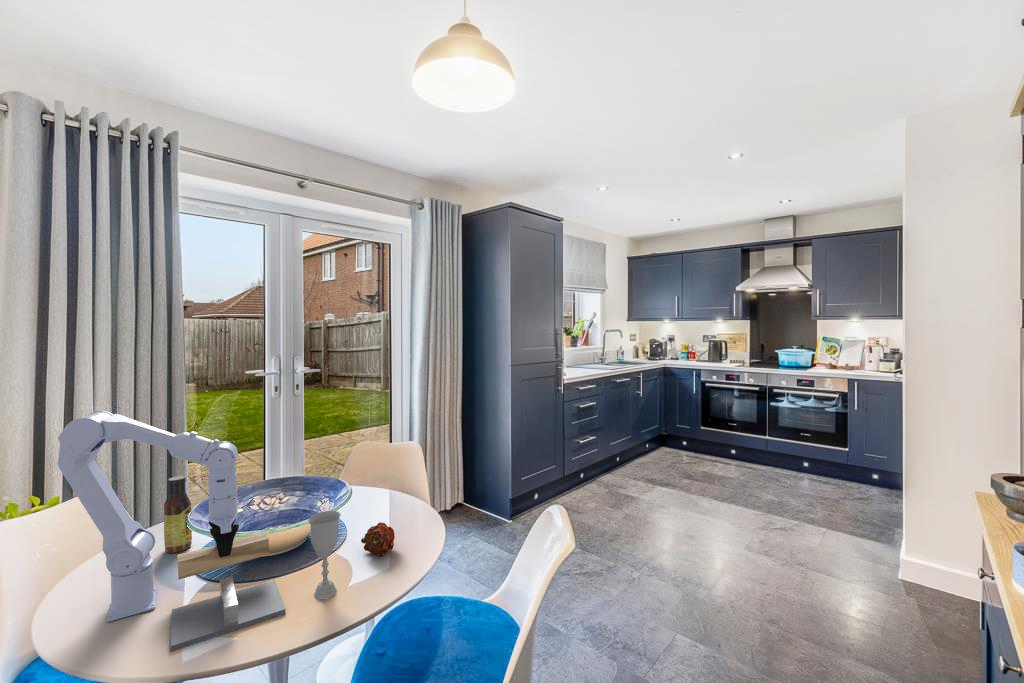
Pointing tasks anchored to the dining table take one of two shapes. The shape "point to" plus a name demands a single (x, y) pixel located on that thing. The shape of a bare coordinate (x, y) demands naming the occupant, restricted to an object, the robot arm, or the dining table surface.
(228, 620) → the steel ridge
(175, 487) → the sauce bottle
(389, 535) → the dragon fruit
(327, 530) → the chalice
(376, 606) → the dining table surface
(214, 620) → the slate base plate
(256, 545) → the oak bar
